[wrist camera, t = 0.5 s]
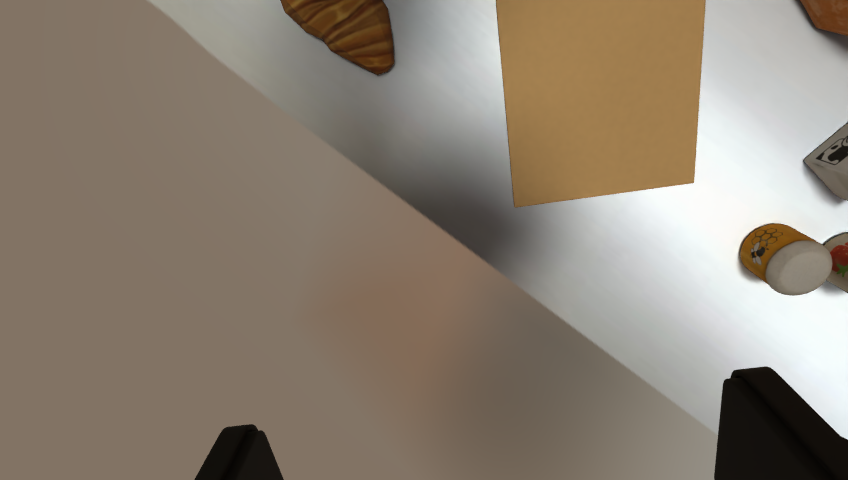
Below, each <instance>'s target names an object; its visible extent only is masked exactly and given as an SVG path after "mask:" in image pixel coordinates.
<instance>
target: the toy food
mask: <svg viewBox="0 0 848 480" xmlns="http://www.w3.org/2000/svg"><path fill="white" fill-rule="evenodd" d="M805 162H806V164H807V165H808V166H809V167H810V168H811V169H812V170H813V171H814V172H815V174H816V175H817V176H818V177H819V178H820V179H821V180H822V181H823V182H824V183H825V184H826V186H827V187H828V188H829V189H830V190H831V191H832V192H833V193H834V194H835V195H836V196H838V197H840V198H842V199H845V200H847V201H848V123H847V124H846V125H845V126H843V127H842V128H841V129H840V130H839V131H837V132H836V133H835V134H834V135H833V136H832V137H830V138H829V139H828V140H827V141H826V142H824V143H823V144H822V145H821V146H819V147H818V148H817V149H816V150H815V151H813V152H812V153H811V154H810V155H809V156H808V157H806V158H805ZM741 260H742V262H743V264H744V266H745V267H746V268H747V269H748V270H750V271H751V272H752V273H754V274H755V275H756V276H758V277H759V278H760V279H762V280H763V281H764V282H766V283H767V284H768V285H769V286H770V287H771V288H772V289H774V290H775V291H777V292H778V293H781V294H785V295H802V294H806V293H809V292H811V291H813V290H815V289H817V288H818V287H819V286H821V285H822V284H823V283H824V282H825V281H826V280H827V281H829V282H830V283H832V284H834V285H835V286H837V287H839V288H840V289H842V290H844V291H845V292H847V293H848V233H845V234H842V235H839V236H837V237H835V238H833V239H831V240H830V241H829V242H827V243H826V244H825V245H824V246H823V245H822V244H820V243H818V242H816V241H815V240H813V239H811V238H810V237H808V236H806V235H804V234H802V233H801V232H799V231H797V230H795V229H793V228H791V227H789V226H787V225H783V224H770V225H766V226H763V227H761V228H759V229H757V230H755V231H754V232H752V233H751V234H750V235H749V236H748V237H747V238H746V240H745V241H744V243H743V245H742V248H741Z"/></svg>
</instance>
